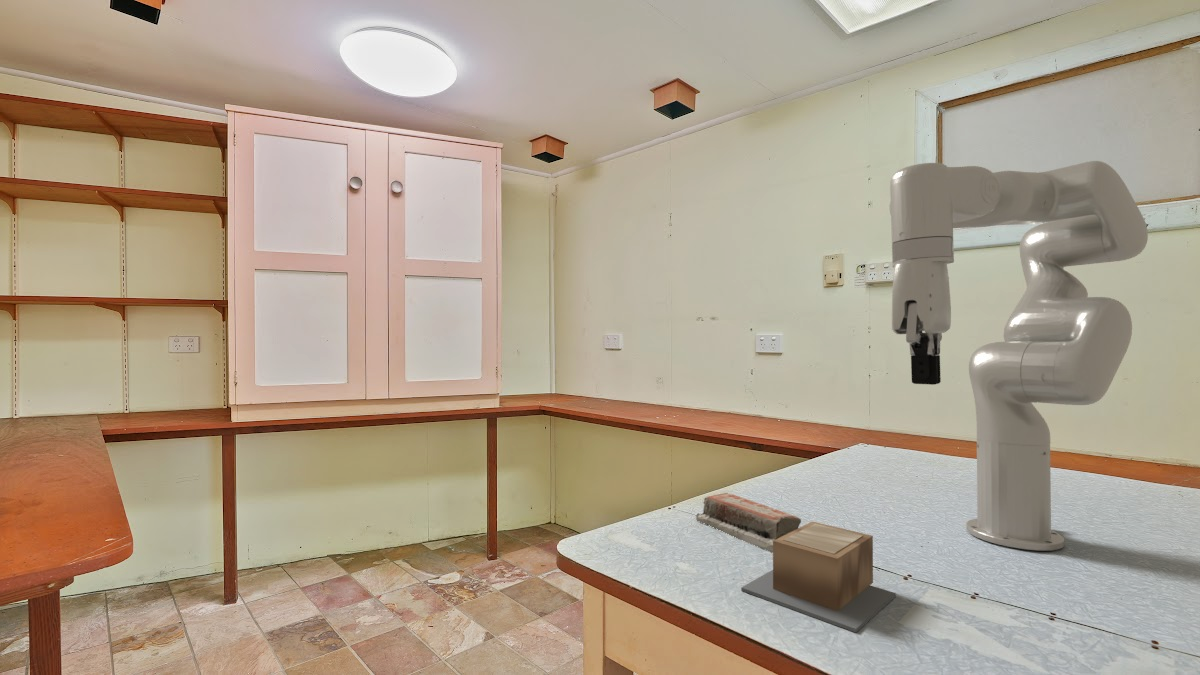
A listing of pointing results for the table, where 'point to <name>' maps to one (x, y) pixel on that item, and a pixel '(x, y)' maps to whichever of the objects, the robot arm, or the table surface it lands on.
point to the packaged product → (747, 519)
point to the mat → (846, 617)
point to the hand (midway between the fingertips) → (926, 383)
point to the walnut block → (823, 564)
